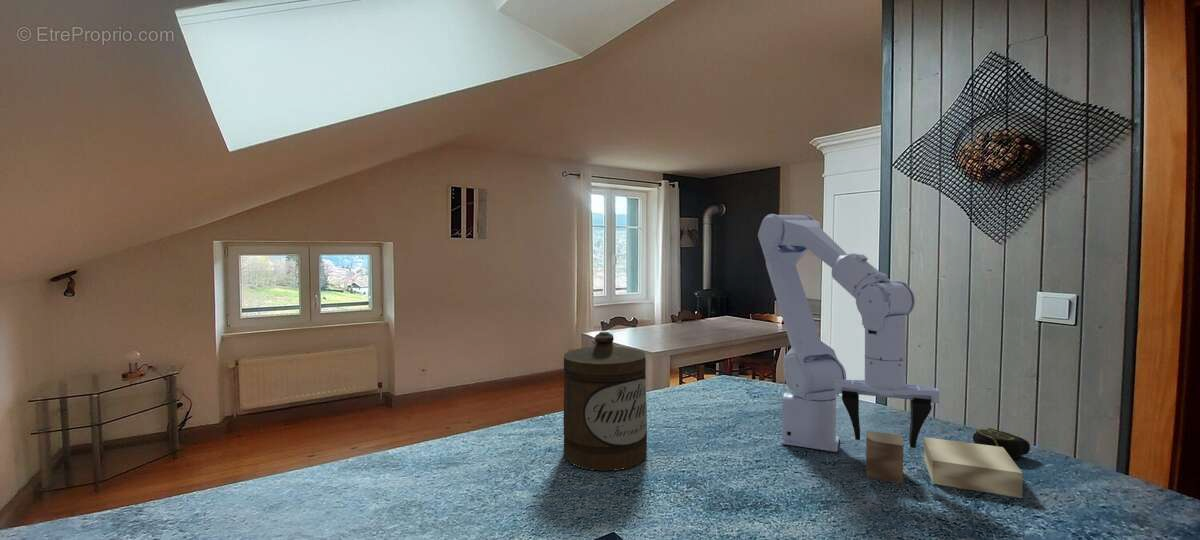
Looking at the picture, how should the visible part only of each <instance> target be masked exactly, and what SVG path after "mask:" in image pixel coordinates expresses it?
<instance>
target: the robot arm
mask: <svg viewBox="0 0 1200 540" xmlns="http://www.w3.org/2000/svg"><path fill="white" fill-rule="evenodd" d="M758 229H759V230H758V233H757V238H758V240H759V244H760V246H761V249H762V254H763V256H764V260H765V266H766V271H767V273H768V276H769V279H770V282H771V287H772V288H773V293H774V296H775V298H776V299H775V300H776V302H777V305H778V308H779V312H780V315H781V317H782V322H783V323H784V328H785V331H786V334H787V338H788V340H789V344H790V347H791V348H790V349H789V350H788V351H787V352H786V354H785V355H784V356H783V358H782V362H783V365H784V380H785V384H786V386H787V388H788V390H789V392H786V391H785V392H784V393H783V396H782V402H781V403H782V405H781V444H782V445H788V446H793V447H799V448H800V447H802V448H808V449H813V450H814V449H815V450H819V451H820V450H821V451H827V452H834V453H837V452H838V450H839V449H838V448H839V442H840V441H839V440H840V436H839V435H838V434H837V397H840V394H841V400H842V403H843V405H844V407H845V409H846V411H847V414H848V415H849V418H850V422H851V425H852V426H853V427H852V428H853V431H854V438H855V439H854V440H856V441H861V425H860V411H859V410H860V407H859V406H860V395H862V396H872V397H880V398H892V399H899V400H901V399H902V400H909V401H910V402H909V403H910V404H909V406H910V407H909V408H910V411H909V412H910V425H909V426H910V427H909V433H908V434H909V435H908V441H909V448H913V449H916V447H917V441H918V438H919V434H920V431H921V429H922V427H923V425H924V423H925V421H926V419H927V418H928V416H929V414H930V413H931V411H932V404H940V389H939V388H938V387H929V386H921V385H918V384H917V385H915V384H909V383H906V380H907V379H906V370H907V369H906V368H907V367H906V360H907V359H906V358H907V357H906V355H907V354H906V352H907V351H906V350H907V349H906V348H907V345H906V344H907V341H906V340H907V327H906V325H907V316H908V315H910V314H911V312H912V311H913V310H914V308H915V305H916V304H915V303H916V300H915V299H916V298H915V295H914V292H913V291H912V289H911V288H910V287H909V285H908V283H907V282H904V281H902V280H891V279H890V278H888V277H889V276H888V275H887V274H886V273H885V272H880V271H879V270H878V269H877V268H876V267H874V266H873V265H872V264H871V263H869V262H868V260H869V258H868V257H867V256H865V254H858V253H849V254H848V253H847V252H846V251H845V250H844V249H843V248H841V246H839V244H838V243H836V242H835V240H833V239H832V238H831V237H830V236H829V235H828V234H827V233H826V232H825V231H824V230H823V229H822V227H821V222H820V221H818V220H817V219H815V218H814V217H813V216H812V215H810V214H800V215H799V214H798V215H797V214H795V215H793V214H775V213H769V214H767V215H766V216H764V218H763V219H762V221H761V224H760V227H759V228H758ZM808 251H809V252H810V253H812V254H813V255H814V256H815V257H817V258H818V259H819V260H820V261H823V263H825V264H826V265H827V266H829V267H830V268H831V277H832V278H833V280H834V281H835V282H836V283H838V284H839V285H840V286H841V287H842V288H843V289H844V290H845V291H846V292H847V293H848V294H850V296H852V298H854V299H855V305H856V309H857V311H858V313H860V315H861V316H860V317H861V325H862V326H863V329H864V379H847V372H846V370H845V367H844V365H843V364H842V362H841V361H840V360H839V359H838V357H837V355H836V351H835V350H834V349H833V348H832V347H831V346H830V345H827V344H826V343H824V342H823V341H822V339H821V338H820V334H819V331H818V329H817V325H816V322H815V320H814V317H813V313H812V311H811V308H810V305H809V301H808V298H807V296H806V292H805V288H804V286H803V283H802V280H801V278H800V274H799V271H798V269H797V264H798V262H799V261H800V260H802V259H803V258H804V257H805V255H806V254H807V252H808Z"/></svg>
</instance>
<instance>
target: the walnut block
mask: <svg viewBox="0 0 1200 540" xmlns="http://www.w3.org/2000/svg"><path fill="white" fill-rule="evenodd" d="M865 435H866V436H865V437H866V443H865V445H866V446H865V451H866V452H865V453H866V454H865V459H866V460H865V477H866V478H868V479H873V480H879V481H886V482H890V483H896V484H897V483H898V484H904V443H903V437H902V434H896V433H888V432H881V431H873V430H866V433H865Z"/></svg>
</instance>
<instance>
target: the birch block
mask: <svg viewBox="0 0 1200 540" xmlns="http://www.w3.org/2000/svg"><path fill="white" fill-rule="evenodd" d="M923 459H924V462H925V463H924V464H925V465H926V468H927V471H928V474H929V477H930V480H931V483H932V485H933V484H934V485H938V486H945V487H951V488H958V489H963V490H969V491H970V490H971V491H975V492H976V491H977V492H983V493H988V494H989V493H990V494H994V495H1001V496H1008V497H1014V498H1021V499H1023V480H1024V479H1023V478H1024V477H1023V476H1024V475H1023V472H1022V470H1021V468H1019V467H1018V464H1016V462H1015V461H1014V460H1013V458H1011V457H1010V456H1009V454H1008V453H1007V452H1006V450H1005V449H1004V448H1003V447H998V446H990V445H982V444H975V443H973V442H966V441H959V440H958V441H957V440H949V439H943V438H942V439H941V438H934V437H928V436H927V437H925V436H924V437H923Z"/></svg>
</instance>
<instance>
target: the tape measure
mask: <svg viewBox="0 0 1200 540" xmlns="http://www.w3.org/2000/svg"><path fill="white" fill-rule="evenodd" d="M972 441H973V442H974V444H982V445H990V446H998V447H1003V448H1004V449H1005V450H1006V452H1007V453H1008V454H1009V456H1010V457H1011V458H1012V459H1017V458H1018V459H1019V458H1020V457H1022V456H1025V455H1027V454H1028V453H1030V450H1031V444H1030V443H1029V441H1028V440H1026V439H1024V438H1022V437H1020V436H1017V435H1015V434H1013V433H1012V434H1011V433H1009V432H1006V431H1002V430H997V429H995V428H990V427H989V428H979V429H977V430H976V432H975V433H973V435H972Z"/></svg>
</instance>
